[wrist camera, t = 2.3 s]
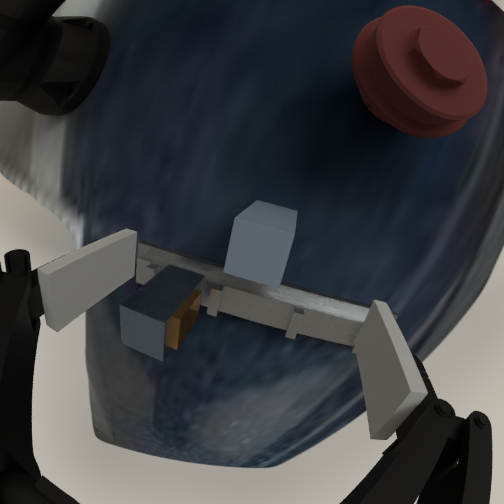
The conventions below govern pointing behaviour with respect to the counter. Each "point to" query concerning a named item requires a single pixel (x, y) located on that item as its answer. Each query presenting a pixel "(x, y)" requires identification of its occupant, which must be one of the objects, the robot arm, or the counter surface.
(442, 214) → the counter surface
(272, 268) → the pale blue-grey block
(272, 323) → the rail
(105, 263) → the robot arm
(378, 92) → the mechanical component
